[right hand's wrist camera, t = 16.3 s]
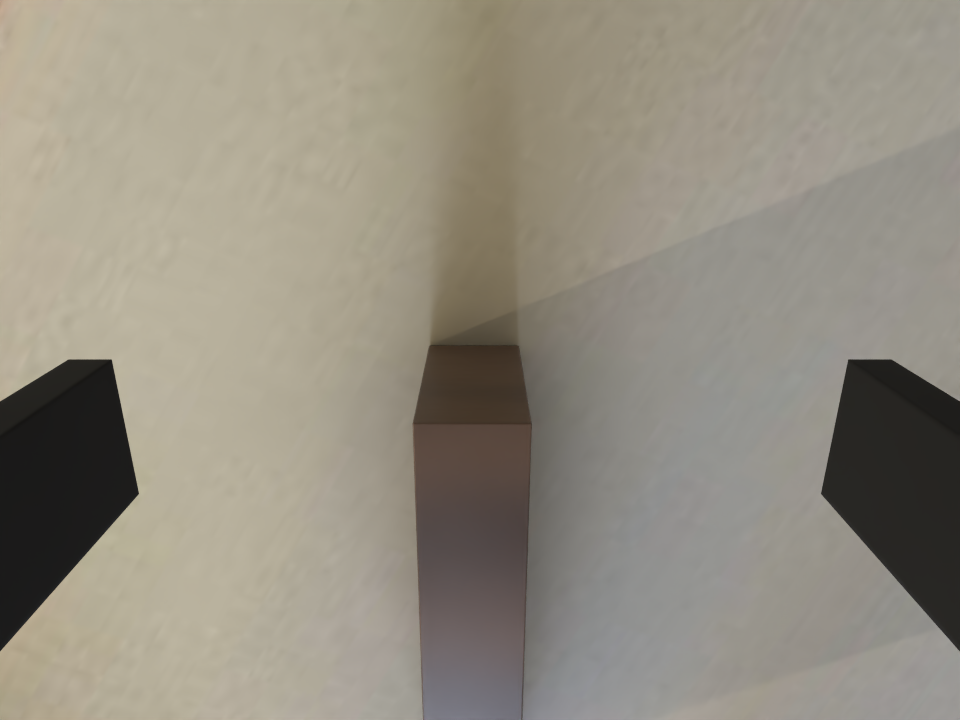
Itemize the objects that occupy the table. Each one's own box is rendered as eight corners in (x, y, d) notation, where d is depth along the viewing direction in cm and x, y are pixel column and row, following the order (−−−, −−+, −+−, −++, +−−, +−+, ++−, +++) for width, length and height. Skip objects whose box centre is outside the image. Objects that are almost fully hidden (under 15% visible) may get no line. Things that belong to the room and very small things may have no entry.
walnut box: (429, 345, 38) (412, 423, 28) (518, 345, 38) (531, 423, 28) (439, 764, 49) (430, 919, 40) (508, 764, 49) (515, 919, 40)
